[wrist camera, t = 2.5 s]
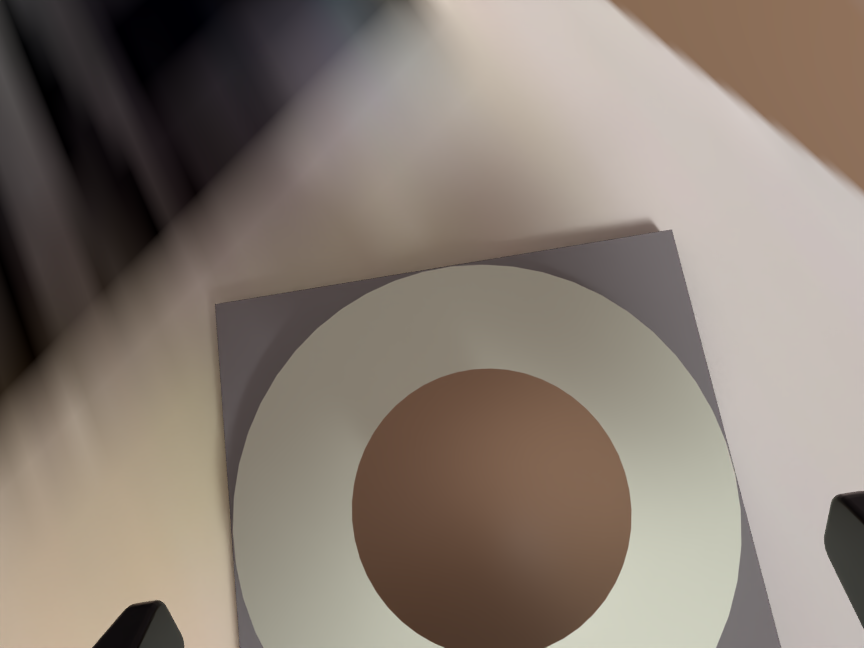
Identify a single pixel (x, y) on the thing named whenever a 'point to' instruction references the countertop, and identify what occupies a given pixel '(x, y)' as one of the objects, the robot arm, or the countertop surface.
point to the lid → (486, 477)
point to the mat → (582, 264)
